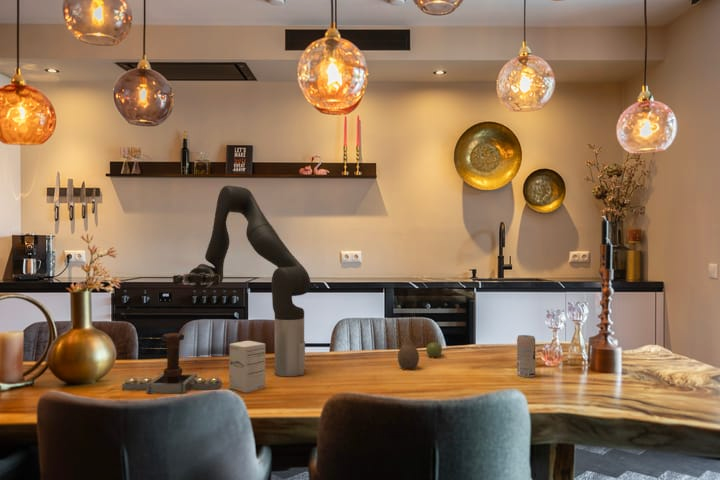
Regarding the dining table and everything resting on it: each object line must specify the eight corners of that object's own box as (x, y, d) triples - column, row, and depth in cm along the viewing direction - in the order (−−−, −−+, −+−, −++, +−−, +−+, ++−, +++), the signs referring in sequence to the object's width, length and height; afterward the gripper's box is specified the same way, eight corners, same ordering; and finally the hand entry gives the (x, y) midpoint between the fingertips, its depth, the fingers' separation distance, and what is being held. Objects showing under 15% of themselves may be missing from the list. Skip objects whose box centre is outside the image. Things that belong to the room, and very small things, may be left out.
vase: (394, 369, 171) (394, 342, 171) (401, 365, 177) (401, 338, 177) (415, 371, 168) (415, 343, 168) (421, 366, 175) (421, 340, 175)
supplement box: (228, 388, 148) (228, 343, 148) (249, 383, 154) (249, 339, 154) (244, 393, 143) (244, 346, 143) (266, 387, 149) (266, 342, 149)
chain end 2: (224, 382, 155) (224, 373, 155) (215, 393, 144) (215, 383, 144) (163, 382, 154) (163, 373, 154) (148, 393, 143) (148, 384, 143)
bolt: (175, 391, 146) (175, 336, 146) (158, 390, 147) (159, 335, 147) (186, 385, 151) (186, 332, 151) (170, 384, 152) (170, 332, 152)
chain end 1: (195, 382, 155) (195, 373, 155) (183, 393, 143) (183, 383, 143) (133, 383, 154) (133, 374, 154) (116, 394, 143) (116, 384, 143)
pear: (425, 342, 189) (428, 342, 198) (425, 357, 188) (428, 356, 197) (441, 342, 187) (443, 342, 197) (441, 358, 186) (443, 357, 196)
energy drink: (536, 374, 164) (536, 335, 164) (534, 378, 159) (534, 338, 159) (518, 372, 166) (518, 334, 166) (515, 376, 161) (515, 337, 162)
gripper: (179, 267, 180) (169, 268, 164) (222, 266, 182) (216, 267, 166) (180, 289, 180) (169, 292, 164) (223, 288, 182) (216, 291, 166)
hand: (193, 280), depth 165 cm, fingers open, 8 cm apart
